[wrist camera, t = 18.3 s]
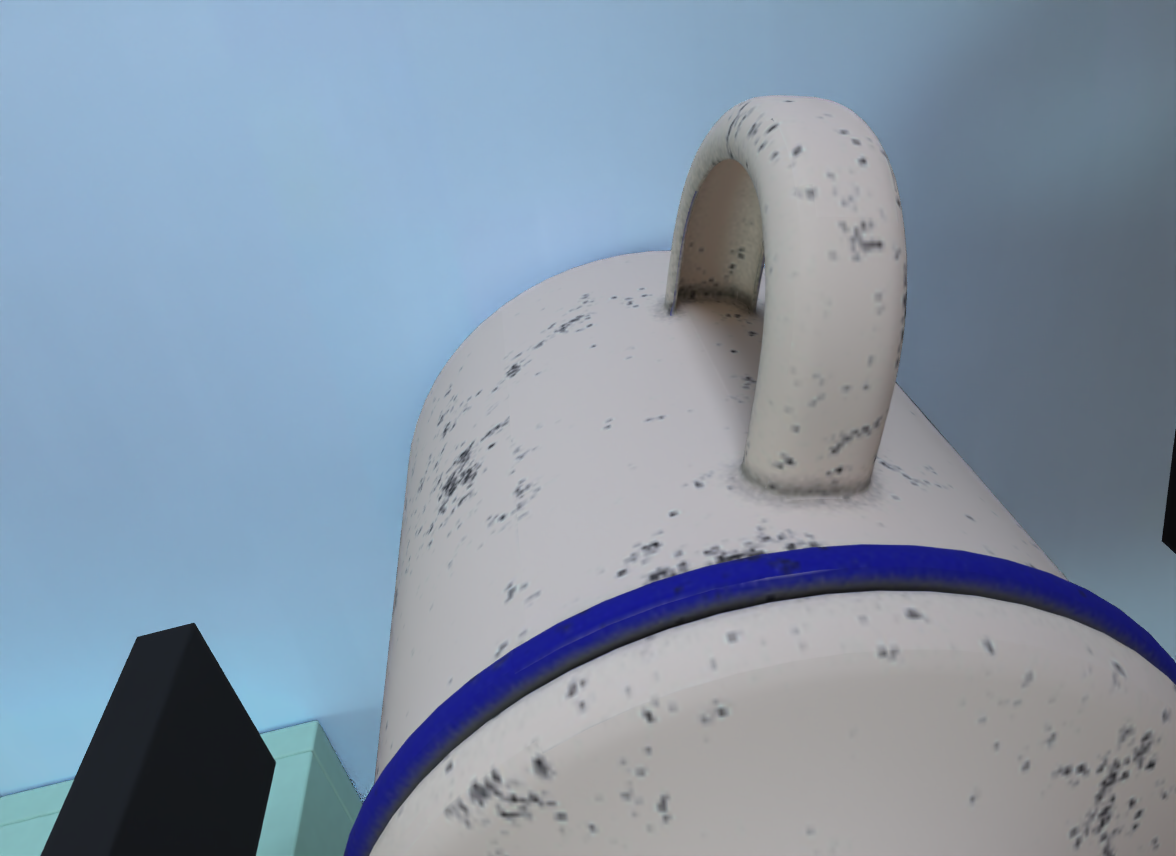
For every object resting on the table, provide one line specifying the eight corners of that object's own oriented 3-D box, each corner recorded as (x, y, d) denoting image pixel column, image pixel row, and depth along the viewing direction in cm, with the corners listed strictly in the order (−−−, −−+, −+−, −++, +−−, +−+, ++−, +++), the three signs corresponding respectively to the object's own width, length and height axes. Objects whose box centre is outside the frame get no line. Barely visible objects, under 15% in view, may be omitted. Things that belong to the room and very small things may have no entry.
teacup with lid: (838, 645, 20) (1215, 1418, 10) (406, 661, 19) (331, 1552, 9) (991, 44, 14) (2347, 442, 4) (370, 14, 13) (9, 465, 3)
